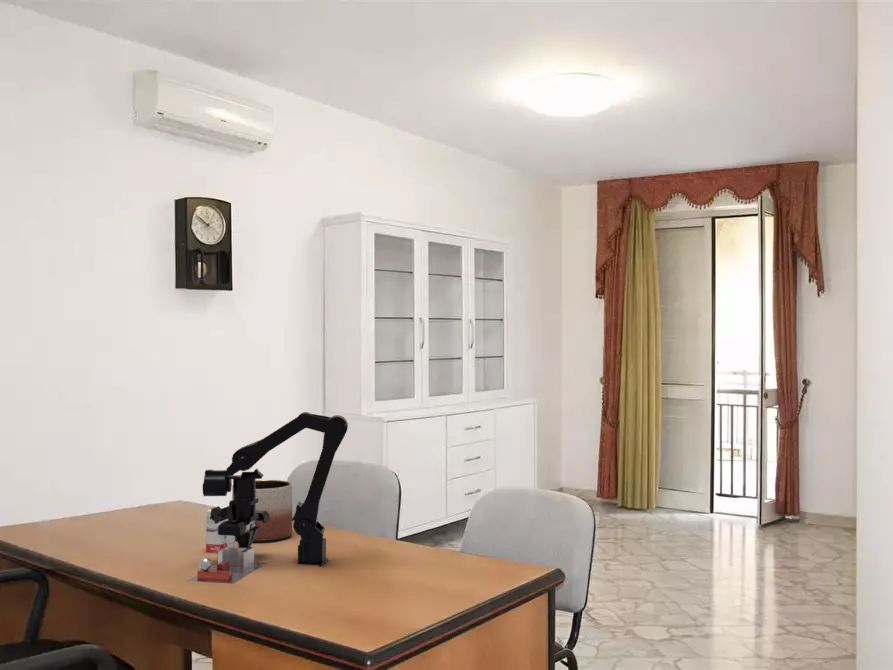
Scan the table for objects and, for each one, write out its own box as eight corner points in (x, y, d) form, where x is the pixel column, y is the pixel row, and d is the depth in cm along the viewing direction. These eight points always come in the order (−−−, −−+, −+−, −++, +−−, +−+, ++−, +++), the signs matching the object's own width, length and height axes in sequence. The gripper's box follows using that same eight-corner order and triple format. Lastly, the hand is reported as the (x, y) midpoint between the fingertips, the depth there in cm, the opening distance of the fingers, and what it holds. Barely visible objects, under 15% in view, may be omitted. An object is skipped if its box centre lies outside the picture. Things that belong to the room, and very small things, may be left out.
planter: (280, 544, 244) (280, 489, 244) (221, 542, 247) (221, 488, 247) (300, 531, 262) (300, 480, 262) (245, 529, 264) (245, 479, 265)
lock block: (254, 564, 219) (254, 547, 219) (243, 570, 213) (243, 552, 213) (228, 563, 220) (229, 545, 220) (218, 569, 214) (218, 551, 215)
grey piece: (267, 564, 221) (267, 543, 221) (233, 585, 201) (233, 562, 201) (224, 562, 223) (224, 541, 223) (186, 582, 204) (186, 559, 204)
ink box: (221, 555, 232) (221, 511, 232) (205, 554, 233) (205, 511, 233) (235, 547, 240) (236, 506, 240) (219, 547, 241) (220, 505, 241)
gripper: (232, 488, 232) (232, 545, 232) (198, 501, 214) (198, 563, 214) (270, 490, 230) (270, 547, 230) (239, 502, 212) (239, 565, 212)
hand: (244, 555), depth 221 cm, fingers closed
